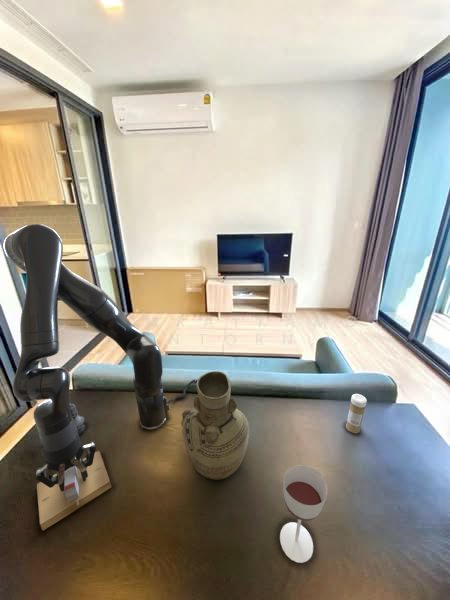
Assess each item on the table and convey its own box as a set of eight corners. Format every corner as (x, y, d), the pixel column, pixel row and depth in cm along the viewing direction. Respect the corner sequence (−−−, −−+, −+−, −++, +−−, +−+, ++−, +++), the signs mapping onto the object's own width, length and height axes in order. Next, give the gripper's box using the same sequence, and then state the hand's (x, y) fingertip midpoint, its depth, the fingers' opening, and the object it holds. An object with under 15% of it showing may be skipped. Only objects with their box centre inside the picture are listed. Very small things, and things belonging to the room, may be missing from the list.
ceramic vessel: (205, 422, 91) (201, 351, 80) (258, 449, 80) (262, 371, 70) (168, 465, 76) (158, 385, 65) (228, 505, 65) (227, 418, 55)
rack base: (99, 453, 79) (98, 447, 79) (112, 490, 69) (111, 484, 68) (38, 486, 70) (36, 480, 69) (43, 535, 60) (40, 528, 59)
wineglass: (273, 523, 62) (278, 466, 55) (307, 519, 62) (317, 463, 55) (283, 566, 54) (290, 507, 47) (321, 561, 55) (335, 503, 48)
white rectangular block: (68, 469, 72) (64, 458, 71) (78, 465, 73) (74, 454, 72) (67, 502, 64) (63, 491, 63) (78, 497, 65) (75, 485, 64)
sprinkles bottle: (361, 428, 87) (369, 398, 83) (356, 436, 85) (364, 405, 80) (348, 421, 91) (354, 391, 86) (343, 428, 88) (349, 397, 83)
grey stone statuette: (77, 438, 85) (69, 411, 81) (63, 435, 86) (54, 408, 82) (89, 424, 90) (82, 398, 86) (75, 422, 91) (68, 395, 87)
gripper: (88, 414, 69) (99, 458, 75) (24, 442, 61) (42, 489, 67) (94, 431, 64) (106, 478, 70) (25, 465, 56) (45, 514, 62)
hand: (74, 483), depth 68 cm, fingers closed on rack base, 3 cm apart
